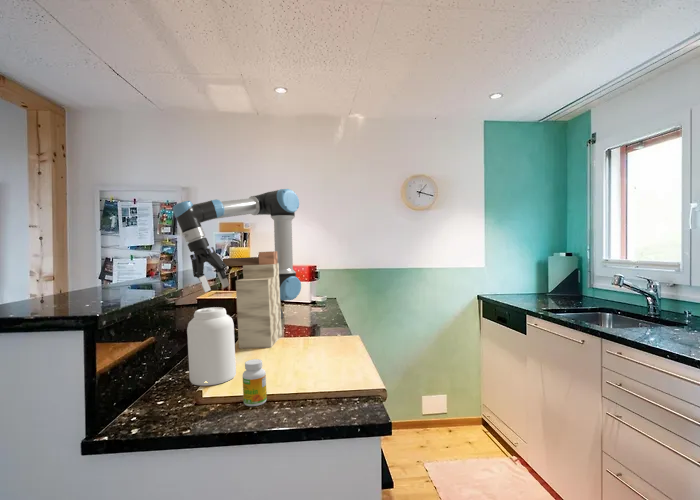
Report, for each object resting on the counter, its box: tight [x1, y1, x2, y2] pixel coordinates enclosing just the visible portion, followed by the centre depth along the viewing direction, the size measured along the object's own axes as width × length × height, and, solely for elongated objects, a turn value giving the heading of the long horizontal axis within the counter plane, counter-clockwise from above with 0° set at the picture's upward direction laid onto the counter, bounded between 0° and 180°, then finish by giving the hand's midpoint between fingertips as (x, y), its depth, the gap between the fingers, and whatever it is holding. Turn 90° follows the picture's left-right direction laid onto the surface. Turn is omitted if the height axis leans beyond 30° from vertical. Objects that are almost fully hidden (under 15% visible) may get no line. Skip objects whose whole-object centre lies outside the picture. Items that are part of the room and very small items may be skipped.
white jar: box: [186, 306, 237, 387], centre depth 107 cm, size 12×12×20 cm
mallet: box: [222, 250, 278, 267], centre depth 152 cm, size 6×21×5 cm, turn 88°
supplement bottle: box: [242, 358, 268, 407], centre depth 90 cm, size 5×5×10 cm
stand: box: [235, 263, 283, 349], centre depth 147 cm, size 18×12×30 cm, turn 178°
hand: (217, 289), depth 153 cm, fingers open, 13 cm apart
